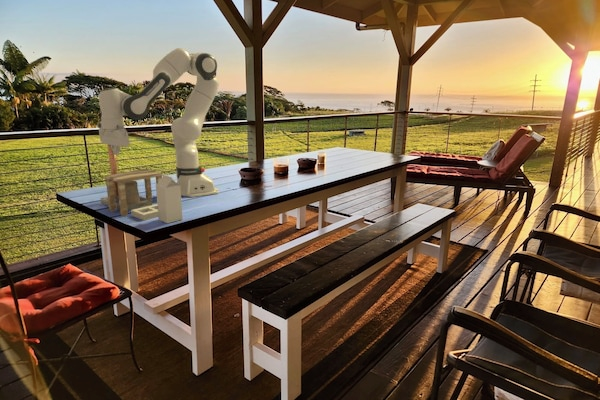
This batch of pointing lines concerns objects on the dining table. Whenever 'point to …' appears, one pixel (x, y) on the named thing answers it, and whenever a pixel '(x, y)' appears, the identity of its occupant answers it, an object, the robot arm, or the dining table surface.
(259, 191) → the dining table surface
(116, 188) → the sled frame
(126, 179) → the tunnel
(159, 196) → the milk carton
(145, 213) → the pit deck
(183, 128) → the robot arm
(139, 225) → the dining table surface
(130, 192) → the carving
